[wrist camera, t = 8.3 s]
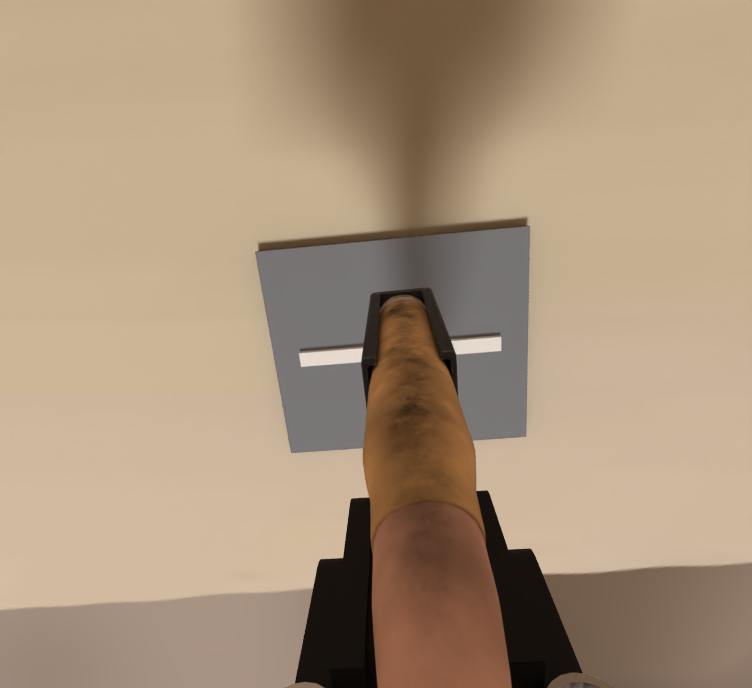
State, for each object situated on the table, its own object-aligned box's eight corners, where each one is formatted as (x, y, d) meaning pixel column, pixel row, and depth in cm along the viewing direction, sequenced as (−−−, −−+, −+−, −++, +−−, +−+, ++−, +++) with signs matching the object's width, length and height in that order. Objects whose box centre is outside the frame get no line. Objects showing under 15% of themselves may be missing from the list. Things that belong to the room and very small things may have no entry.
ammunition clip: (449, 565, 16) (583, 1398, 5) (400, 567, 16) (423, 1388, 5) (431, 286, 13) (721, 910, 2) (370, 292, 13) (241, 917, 2)
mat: (526, 225, 22) (531, 226, 21) (523, 431, 26) (527, 439, 25) (258, 250, 23) (253, 252, 22) (293, 447, 27) (290, 455, 26)
